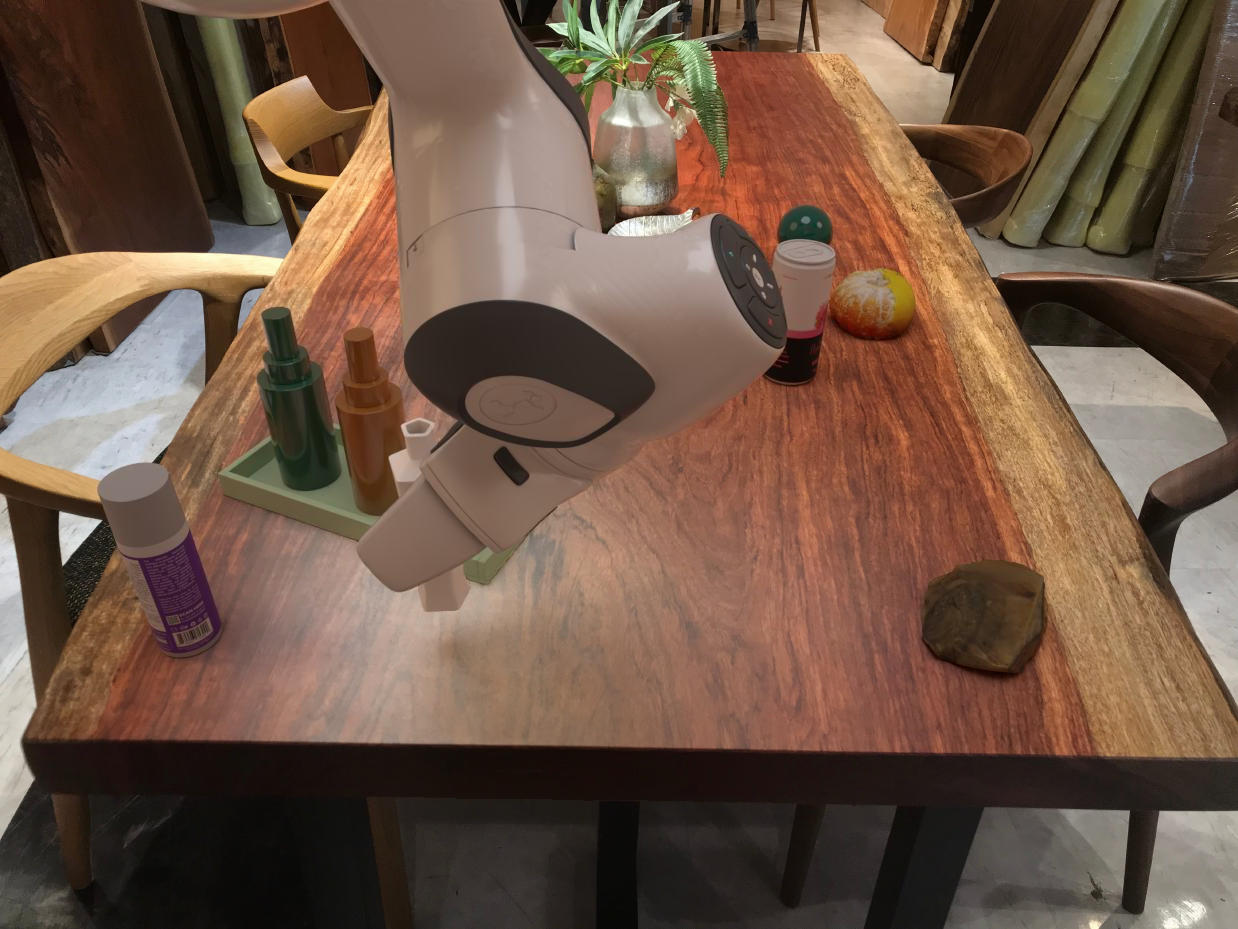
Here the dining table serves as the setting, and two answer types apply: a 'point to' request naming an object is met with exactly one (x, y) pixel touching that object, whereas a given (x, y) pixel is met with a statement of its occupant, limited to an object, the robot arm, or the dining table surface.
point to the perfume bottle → (405, 464)
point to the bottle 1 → (296, 408)
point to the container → (161, 558)
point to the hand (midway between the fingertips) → (424, 507)
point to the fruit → (873, 304)
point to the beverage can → (802, 306)
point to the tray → (323, 502)
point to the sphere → (805, 225)
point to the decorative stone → (986, 615)
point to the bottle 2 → (369, 423)
